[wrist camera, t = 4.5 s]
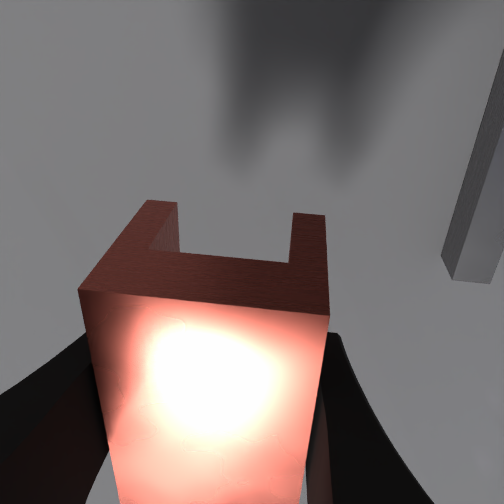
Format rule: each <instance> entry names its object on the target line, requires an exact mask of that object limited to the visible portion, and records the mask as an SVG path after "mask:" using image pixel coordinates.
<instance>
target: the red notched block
mask: <svg viewBox="0 0 504 504" xmlns="http://www.w3.org/2000/svg"><path fill="white" fill-rule="evenodd" d="M78 294H79V299H80V304H81V309H82V314H83V319H84V324H85V329H86V334H87V339H88V344H89V349H90V354H91V359H92V364H93V369H94V374H95V379H96V384H97V389H98V394H99V399H100V404H101V409H102V414H103V419H104V424H105V429H106V434H107V439H108V444H109V449H110V454H111V459H112V464H113V469H114V474H115V479H116V484H117V489H118V494H119V499H120V504H299V498H300V492H301V486H302V480H303V474H304V468H305V462H306V456H307V450H308V444H309V438H310V433H311V427H312V421H313V415H314V409H315V403H316V397H317V391H318V385H319V379H320V373H321V367H322V361H323V355H324V349H325V343H326V337H327V331H328V325H329V319H330V306H329V286H328V265H327V245H326V225H325V215H315V214H303V213H293V220H292V230H291V241H290V251H289V261H288V263H284V262H274V261H264V260H253V259H243V258H233V257H222V256H212V255H202V254H192V253H181V252H180V248H179V228H178V209H177V202H167V201H156V200H146V202H145V203H144V204H143V206H142V207H141V208H140V209H139V211H138V212H137V213H136V215H135V216H134V217H133V218H132V220H131V221H130V222H129V224H128V225H127V226H126V227H125V229H124V230H123V231H122V233H121V234H120V235H119V236H118V238H117V239H116V240H115V242H114V243H113V244H112V245H111V247H110V248H109V249H108V251H107V252H106V253H105V254H104V256H103V257H102V258H101V260H100V261H99V262H98V263H97V265H96V266H95V267H94V269H93V270H92V271H91V272H90V274H89V275H88V276H87V278H86V279H85V280H84V281H83V283H82V284H81V285H80V287H79V288H78Z"/></svg>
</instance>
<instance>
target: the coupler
mask: <svg viewBox="0 0 504 504" xmlns="http://www.w3.org/2000/svg"><path fill="white" fill-rule="evenodd" d="M503 249H504V51H503V54H502V57H501V60H500V64H499V67H498V70H497V74H496V77H495V80H494V83H493V87H492V90H491V93H490V97H489V100H488V103H487V106H486V110H485V113H484V116H483V120H482V123H481V126H480V129H479V133H478V136H477V139H476V142H475V146H474V149H473V152H472V156H471V159H470V162H469V165H468V169H467V172H466V175H465V179H464V182H463V185H462V188H461V192H460V195H459V198H458V201H457V205H456V208H455V211H454V215H453V218H452V221H451V224H450V228H449V231H448V234H447V238H446V241H445V244H444V247H443V251H442V254H441V257H442V259H443V262H444V264H445V266H446V268H447V270H448V272H449V274H450V277H451V279H452V280H455V281H465V282H475V283H485V284H490V283H491V280H492V278H493V275H494V273H495V270H496V267H497V265H498V262H499V260H500V257H501V254H502V252H503Z"/></svg>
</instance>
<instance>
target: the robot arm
mask: <svg viewBox="0 0 504 504" xmlns="http://www.w3.org/2000/svg"><path fill="white" fill-rule="evenodd" d="M108 451H109V444H108V439H107V434H106V429H105V424H104V419H103V414H102V409H101V404H100V399H99V394H98V389H97V384H96V379H95V374H94V369H93V364H92V359H91V354H90V349H89V344H88V339H87V334H86V333H84V334H83V335H82V336H81V337H79V338H78V339H77V340H76V341H74V342H73V343H72V344H71V345H69V346H68V347H67V348H65V349H64V350H63V351H62V352H60V353H59V354H58V355H56V356H55V357H54V358H53V359H51V360H50V361H49V362H47V363H46V364H44V365H43V366H42V367H40V368H39V369H37V370H36V371H35V372H33V373H32V374H30V375H29V376H28V377H26V378H25V379H23V380H22V381H21V382H19V383H18V384H16V385H15V386H13V387H12V388H10V389H8V390H7V391H5V392H4V393H2V394H1V395H0V504H85V503H86V500H87V497H88V495H89V492H90V490H91V488H92V486H93V483H94V481H95V479H96V476H97V474H98V472H99V470H100V468H101V466H102V464H103V462H104V460H105V458H106V456H107V454H108ZM305 464H306V483H307V502H308V504H434V502H433V501H432V500H431V499H430V497H429V496H428V495H427V494H426V492H425V491H424V490H423V488H422V487H421V485H420V484H419V483H418V481H417V480H416V478H415V477H414V476H413V474H412V473H411V472H410V470H409V469H408V467H407V466H406V464H405V463H404V461H403V460H402V458H401V457H400V455H399V454H398V452H397V451H396V449H395V448H394V446H393V444H392V443H391V441H390V440H389V438H388V436H387V435H386V433H385V431H384V430H383V428H382V426H381V424H380V423H379V421H378V419H377V417H376V416H375V414H374V412H373V410H372V408H371V406H370V404H369V402H368V400H367V398H366V396H365V394H364V392H363V390H362V388H361V386H360V384H359V382H358V380H357V378H356V376H355V374H354V371H353V369H352V367H351V364H350V362H349V359H348V357H347V354H346V352H345V349H344V346H343V343H342V340H341V337H340V336H339V335H338V333H331V332H327V337H326V343H325V349H324V355H323V361H322V367H321V373H320V379H319V385H318V391H317V397H316V403H315V409H314V415H313V421H312V427H311V433H310V438H309V444H308V450H307V456H306V462H305Z"/></svg>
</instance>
